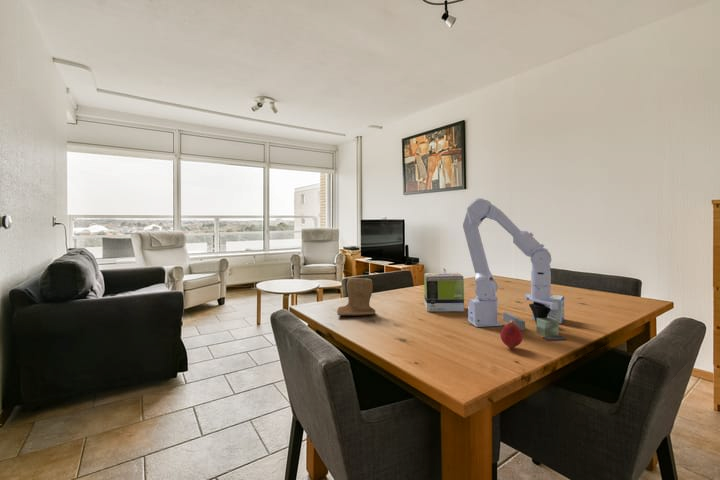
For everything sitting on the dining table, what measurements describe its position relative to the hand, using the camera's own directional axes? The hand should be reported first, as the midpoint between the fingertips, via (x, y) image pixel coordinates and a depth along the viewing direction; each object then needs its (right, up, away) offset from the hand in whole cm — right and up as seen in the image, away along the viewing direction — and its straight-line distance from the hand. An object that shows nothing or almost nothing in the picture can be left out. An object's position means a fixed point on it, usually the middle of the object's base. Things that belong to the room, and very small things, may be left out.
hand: (540, 325), depth 113 cm
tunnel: (-1, -1, +7) cm, 7 cm away
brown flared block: (-61, -2, +23) cm, 66 cm away
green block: (0, -2, -4) cm, 4 cm away
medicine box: (+11, -1, +11) cm, 15 cm away
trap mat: (0, -2, -9) cm, 9 cm away
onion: (-17, -3, -16) cm, 23 cm away
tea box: (-25, -1, +30) cm, 39 cm away
